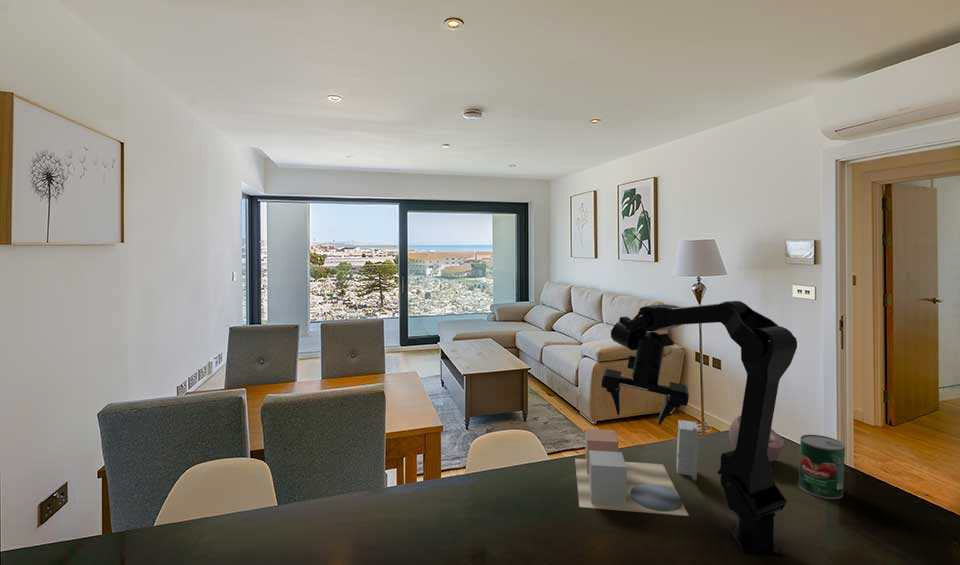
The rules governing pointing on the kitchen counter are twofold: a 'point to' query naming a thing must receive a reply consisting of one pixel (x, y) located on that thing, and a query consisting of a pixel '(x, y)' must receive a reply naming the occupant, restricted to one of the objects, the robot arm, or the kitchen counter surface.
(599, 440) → the pink sandstone cube
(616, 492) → the pale slate cube
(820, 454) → the canned tomato
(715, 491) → the kitchen counter surface
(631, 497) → the oak board
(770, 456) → the mortar and pestle
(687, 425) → the skincare box
